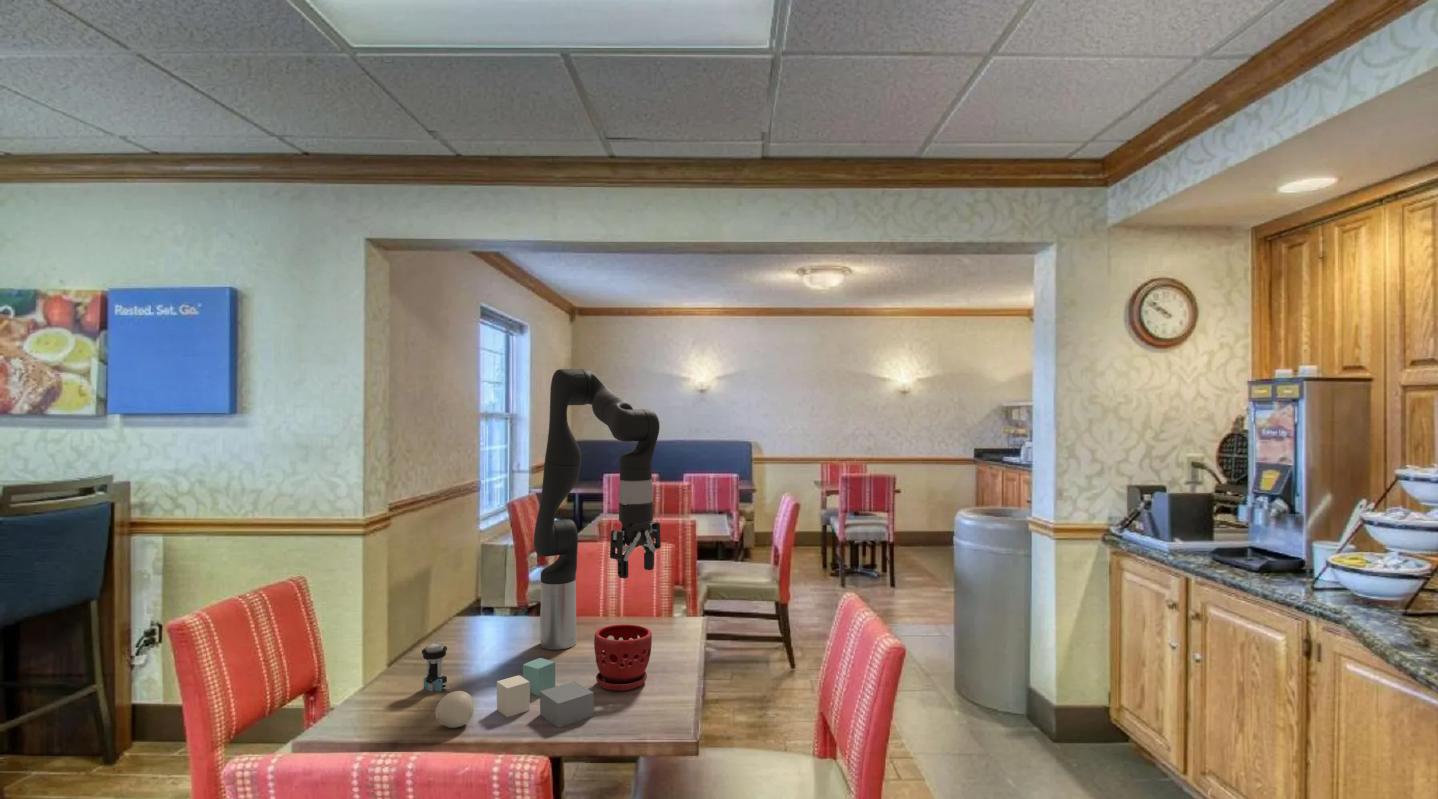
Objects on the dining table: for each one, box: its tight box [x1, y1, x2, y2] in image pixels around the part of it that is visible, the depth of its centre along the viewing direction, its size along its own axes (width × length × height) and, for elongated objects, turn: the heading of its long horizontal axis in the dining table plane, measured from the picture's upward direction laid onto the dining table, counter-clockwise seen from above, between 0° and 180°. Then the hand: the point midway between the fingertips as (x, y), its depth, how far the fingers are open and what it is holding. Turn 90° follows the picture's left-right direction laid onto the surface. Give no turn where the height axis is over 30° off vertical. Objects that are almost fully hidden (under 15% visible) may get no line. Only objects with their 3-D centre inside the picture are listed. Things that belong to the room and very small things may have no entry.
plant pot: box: [593, 623, 653, 691], centre depth 161 cm, size 13×13×12 cm
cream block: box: [496, 674, 531, 718], centre depth 147 cm, size 5×5×6 cm
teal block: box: [522, 657, 556, 697], centre depth 158 cm, size 5×5×6 cm
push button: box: [421, 641, 452, 692], centre depth 158 cm, size 7×5×10 cm
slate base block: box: [539, 680, 595, 728], centre depth 144 cm, size 8×8×5 cm
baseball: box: [434, 690, 475, 729], centre depth 140 cm, size 7×7×7 cm
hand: (636, 573), depth 154 cm, fingers open, 8 cm apart
